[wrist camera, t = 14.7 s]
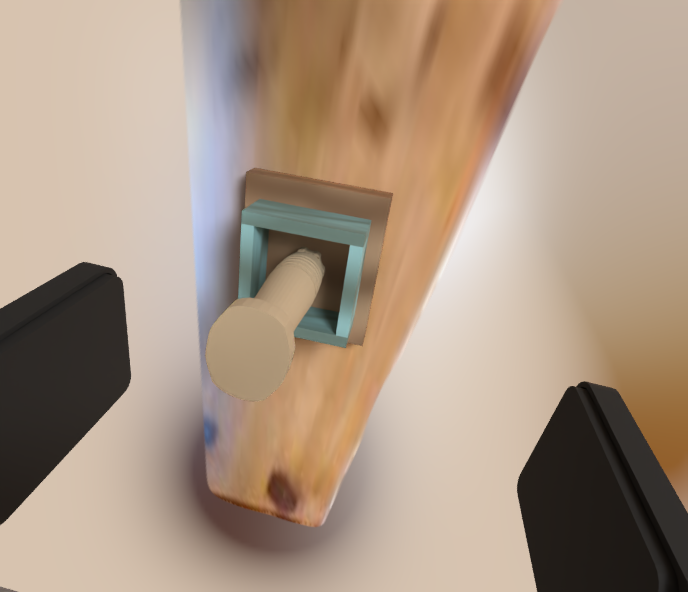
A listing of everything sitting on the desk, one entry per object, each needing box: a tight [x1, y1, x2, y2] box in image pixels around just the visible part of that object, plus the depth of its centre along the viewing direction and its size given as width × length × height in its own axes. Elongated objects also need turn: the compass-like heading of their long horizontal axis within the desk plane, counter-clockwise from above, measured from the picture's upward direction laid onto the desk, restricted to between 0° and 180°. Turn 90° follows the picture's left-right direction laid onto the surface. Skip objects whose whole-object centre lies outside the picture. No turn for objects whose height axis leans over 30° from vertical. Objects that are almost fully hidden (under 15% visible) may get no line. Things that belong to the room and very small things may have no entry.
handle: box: [205, 247, 325, 401], centre depth 32 cm, size 5×6×15 cm
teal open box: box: [238, 168, 393, 348], centre depth 38 cm, size 14×12×6 cm
